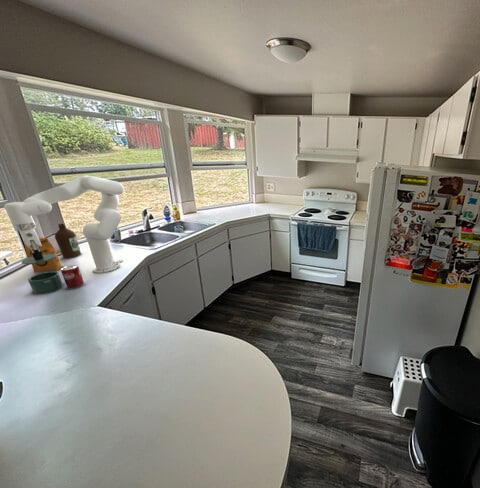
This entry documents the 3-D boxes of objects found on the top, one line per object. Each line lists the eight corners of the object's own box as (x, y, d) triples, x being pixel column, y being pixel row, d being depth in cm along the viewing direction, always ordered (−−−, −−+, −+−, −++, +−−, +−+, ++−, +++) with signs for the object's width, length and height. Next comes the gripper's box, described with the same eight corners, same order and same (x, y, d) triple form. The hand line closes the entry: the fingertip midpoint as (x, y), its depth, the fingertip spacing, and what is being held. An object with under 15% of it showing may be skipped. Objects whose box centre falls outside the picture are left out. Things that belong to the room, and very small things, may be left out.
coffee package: (57, 271, 161) (45, 239, 154) (31, 274, 157) (17, 242, 149) (65, 265, 170) (54, 235, 162) (40, 268, 165) (27, 237, 158)
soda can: (74, 289, 142) (67, 271, 137) (63, 288, 143) (56, 269, 139) (87, 283, 148) (81, 265, 144) (78, 282, 150) (71, 264, 145)
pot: (59, 280, 151) (54, 268, 149) (66, 289, 142) (61, 276, 139) (31, 288, 142) (25, 275, 140) (36, 298, 133) (30, 284, 130)
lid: (53, 253, 145) (49, 245, 143) (58, 259, 138) (54, 250, 136) (20, 261, 135) (16, 251, 133) (24, 267, 128) (19, 257, 126)
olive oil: (58, 259, 179) (45, 225, 170) (69, 253, 189) (57, 221, 180) (76, 258, 181) (64, 225, 173) (85, 252, 191) (75, 221, 182)
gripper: (38, 227, 128) (51, 260, 134) (32, 221, 137) (45, 252, 143) (15, 231, 122) (31, 264, 129) (11, 224, 131) (26, 256, 138)
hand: (38, 258), depth 136 cm, fingers closed on lid, 2 cm apart
